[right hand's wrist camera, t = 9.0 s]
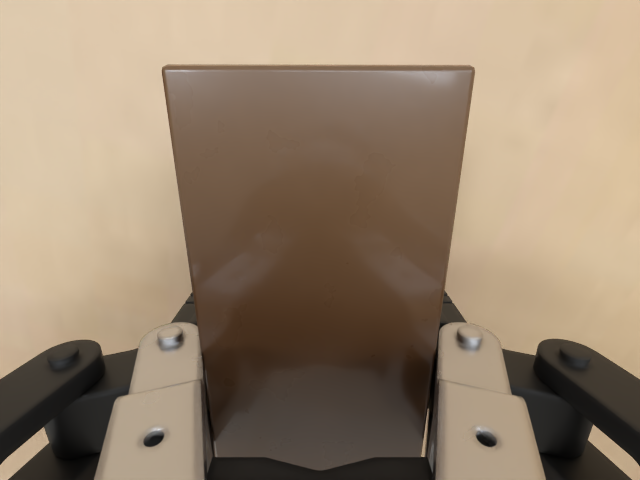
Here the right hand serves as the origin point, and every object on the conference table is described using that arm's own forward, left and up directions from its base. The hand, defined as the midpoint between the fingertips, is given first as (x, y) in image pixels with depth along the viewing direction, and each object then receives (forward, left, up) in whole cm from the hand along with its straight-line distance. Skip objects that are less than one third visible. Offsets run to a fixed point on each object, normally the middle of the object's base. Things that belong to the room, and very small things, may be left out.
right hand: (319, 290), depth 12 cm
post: (+3, +28, -2) cm, 28 cm away
